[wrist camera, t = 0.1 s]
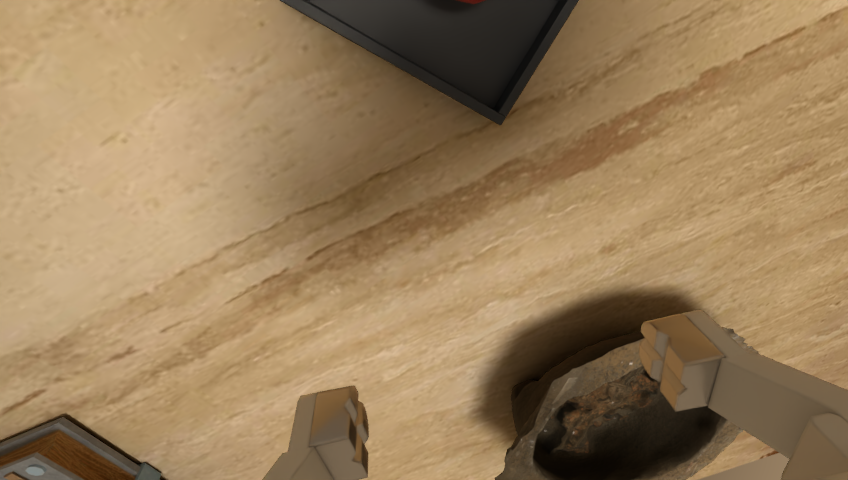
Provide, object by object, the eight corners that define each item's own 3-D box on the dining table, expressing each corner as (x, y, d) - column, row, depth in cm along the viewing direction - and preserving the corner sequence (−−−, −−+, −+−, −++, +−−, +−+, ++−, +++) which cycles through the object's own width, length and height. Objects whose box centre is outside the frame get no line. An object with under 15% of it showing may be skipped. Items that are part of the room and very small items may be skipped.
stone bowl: (446, 441, 44) (463, 533, 36) (548, 246, 35) (603, 311, 27) (629, 466, 51) (679, 550, 42) (759, 306, 41) (857, 374, 33)
